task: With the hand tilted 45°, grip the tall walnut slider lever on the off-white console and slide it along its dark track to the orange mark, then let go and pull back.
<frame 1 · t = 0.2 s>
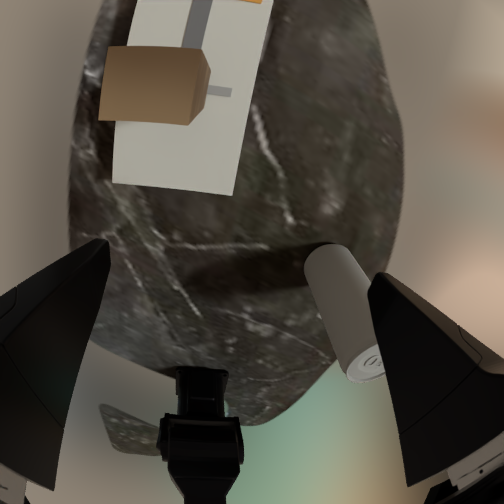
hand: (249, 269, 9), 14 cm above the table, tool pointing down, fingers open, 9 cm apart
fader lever: (171, 85, 11), point 8 cm above the table, slide at 0.0 cm
beverage can: (325, 261, 27), on the table
fader console: (193, 61, 17), on the table
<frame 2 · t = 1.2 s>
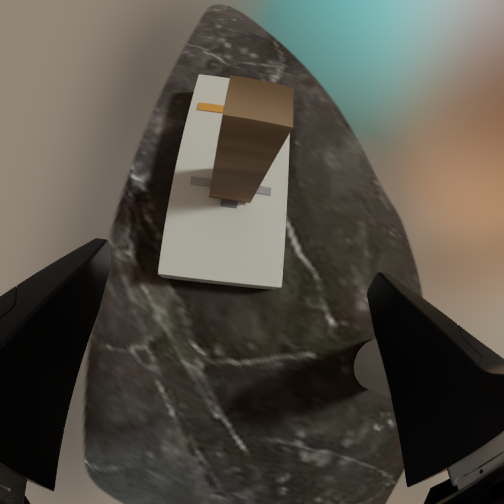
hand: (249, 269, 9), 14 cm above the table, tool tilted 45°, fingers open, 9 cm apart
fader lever: (242, 151, 16), point 8 cm above the table, slide at 0.0 cm
beverage can: (371, 362, 24), on the table
fader console: (229, 176, 24), on the table
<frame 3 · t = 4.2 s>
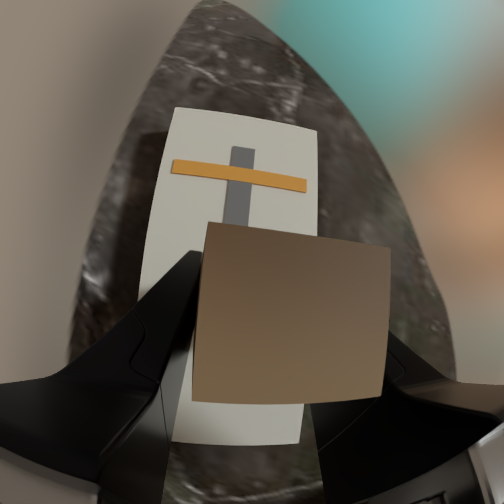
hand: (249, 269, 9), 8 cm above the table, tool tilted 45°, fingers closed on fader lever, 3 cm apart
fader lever: (246, 314, 9), point 8 cm above the table, slide at 0.0 cm, touching gripper
fader console: (225, 275, 17), on the table
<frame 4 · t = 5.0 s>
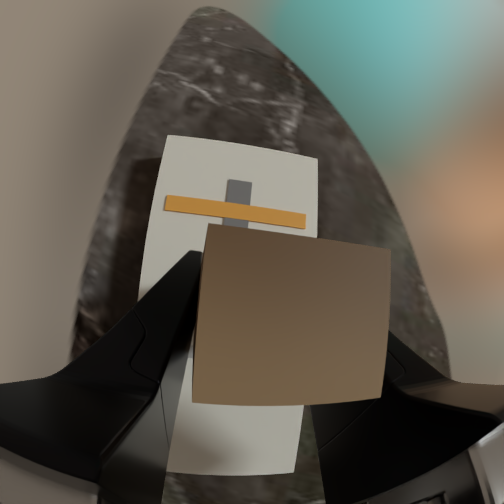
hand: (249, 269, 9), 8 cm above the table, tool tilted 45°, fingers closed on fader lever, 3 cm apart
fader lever: (246, 314, 9), point 8 cm above the table, slide at 2.1 cm, touching gripper
fader console: (222, 312, 16), on the table
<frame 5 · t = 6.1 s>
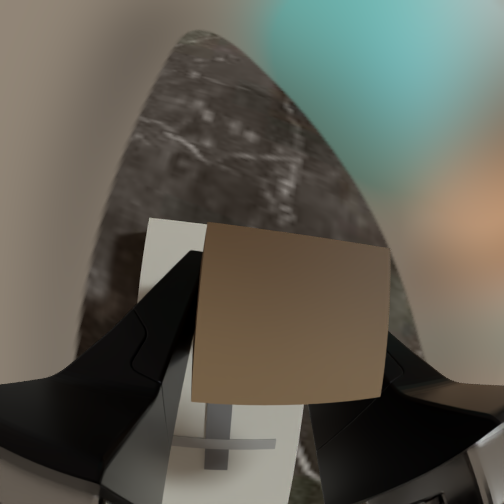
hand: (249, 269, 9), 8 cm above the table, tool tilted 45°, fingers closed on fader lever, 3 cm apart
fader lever: (246, 314, 9), point 8 cm above the table, slide at 6.9 cm, touching gripper
fader console: (215, 395, 15), on the table
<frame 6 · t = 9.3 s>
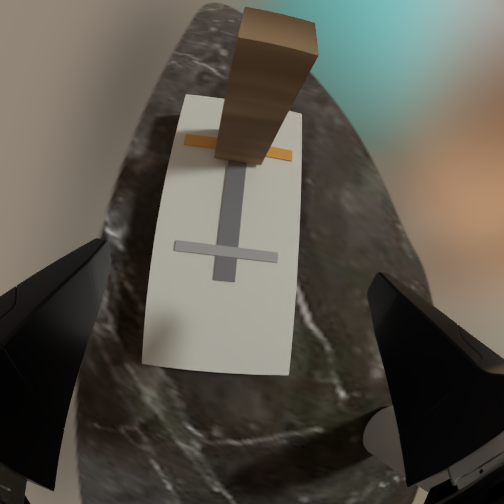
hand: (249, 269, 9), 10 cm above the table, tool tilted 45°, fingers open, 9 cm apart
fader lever: (254, 98, 13), point 8 cm above the table, slide at 7.0 cm
beverage can: (381, 428, 20), on the table
fader console: (226, 229, 20), on the table
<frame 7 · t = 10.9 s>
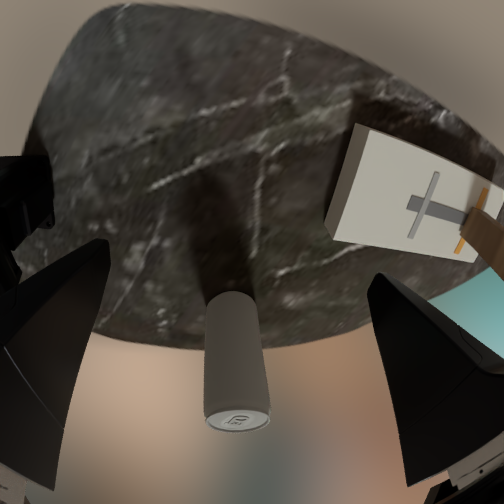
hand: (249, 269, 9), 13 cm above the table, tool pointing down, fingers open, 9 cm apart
beverage can: (231, 305, 28), on the table
fader console: (424, 198, 23), on the table
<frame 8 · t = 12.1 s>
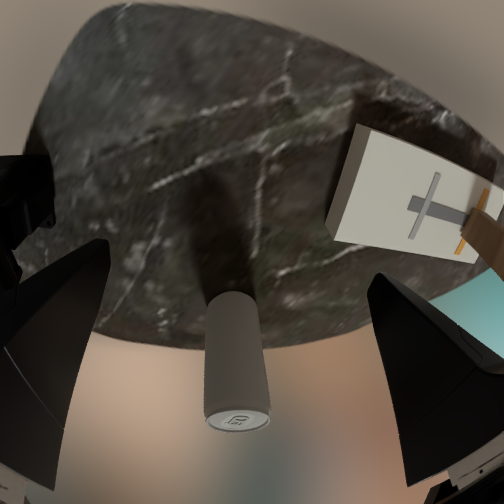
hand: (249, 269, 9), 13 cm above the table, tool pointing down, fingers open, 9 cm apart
beverage can: (232, 305, 28), on the table
fader console: (425, 199, 23), on the table
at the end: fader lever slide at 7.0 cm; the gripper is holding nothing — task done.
